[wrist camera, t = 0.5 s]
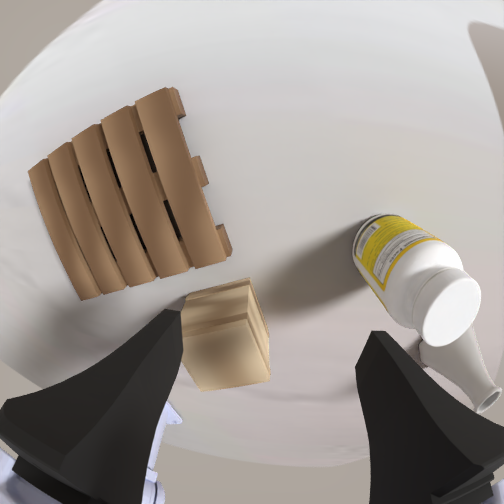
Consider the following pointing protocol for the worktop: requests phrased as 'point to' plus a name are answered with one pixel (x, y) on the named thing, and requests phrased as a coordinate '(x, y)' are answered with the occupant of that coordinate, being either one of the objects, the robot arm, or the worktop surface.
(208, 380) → the cardboard box
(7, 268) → the worktop surface
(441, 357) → the flask
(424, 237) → the supplement bottle
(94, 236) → the pallet
